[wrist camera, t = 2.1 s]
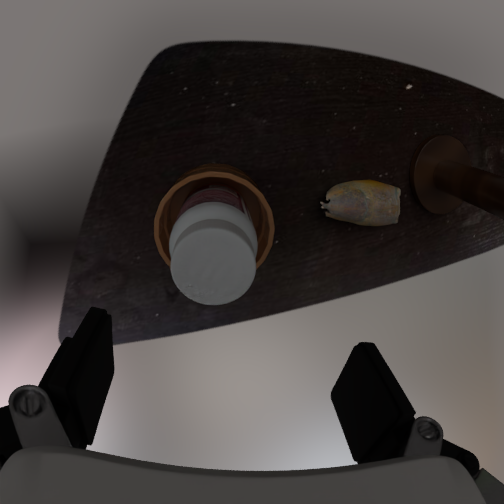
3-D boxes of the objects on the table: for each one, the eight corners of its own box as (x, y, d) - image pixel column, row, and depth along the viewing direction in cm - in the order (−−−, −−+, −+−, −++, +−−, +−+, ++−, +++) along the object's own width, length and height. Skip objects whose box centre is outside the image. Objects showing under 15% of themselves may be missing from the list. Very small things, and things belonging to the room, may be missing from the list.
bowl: (146, 218, 29) (131, 239, 24) (210, 141, 27) (207, 146, 22) (220, 275, 32) (220, 305, 27) (285, 208, 30) (298, 226, 25)
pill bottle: (168, 207, 28) (139, 258, 18) (223, 168, 27) (224, 197, 17) (207, 257, 30) (202, 328, 20) (261, 221, 29) (283, 279, 19)
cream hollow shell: (323, 232, 31) (323, 230, 27) (318, 189, 31) (317, 179, 27) (399, 224, 29) (410, 221, 25) (393, 181, 30) (402, 171, 25)
